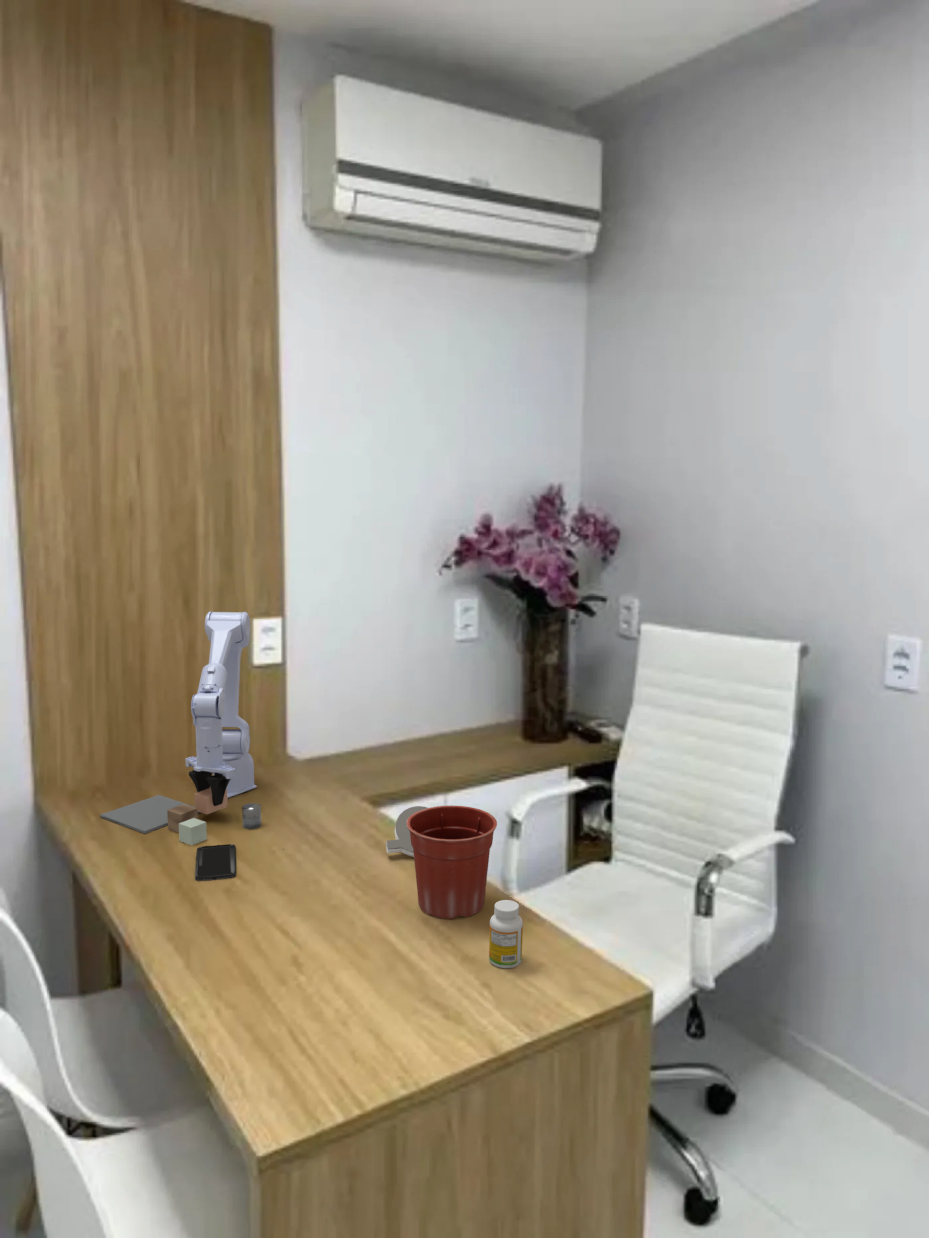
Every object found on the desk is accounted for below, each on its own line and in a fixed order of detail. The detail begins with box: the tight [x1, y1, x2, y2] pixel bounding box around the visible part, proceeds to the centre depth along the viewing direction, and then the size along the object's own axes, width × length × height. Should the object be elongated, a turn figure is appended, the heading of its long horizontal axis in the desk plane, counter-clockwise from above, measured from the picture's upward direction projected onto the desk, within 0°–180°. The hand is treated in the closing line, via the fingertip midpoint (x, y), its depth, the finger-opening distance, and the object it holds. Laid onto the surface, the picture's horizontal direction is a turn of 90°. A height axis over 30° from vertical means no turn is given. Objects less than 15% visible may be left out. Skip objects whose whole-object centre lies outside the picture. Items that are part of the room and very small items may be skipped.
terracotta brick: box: [194, 788, 229, 815], centre depth 212 cm, size 6×4×4 cm, turn 145°
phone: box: [194, 843, 237, 882], centre depth 188 cm, size 8×1×15 cm
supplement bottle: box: [488, 899, 524, 969], centre depth 153 cm, size 5×5×10 cm
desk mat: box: [99, 794, 201, 834], centre depth 213 cm, size 16×16×1 cm
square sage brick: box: [178, 818, 208, 846], centre depth 199 cm, size 4×4×4 cm
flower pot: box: [406, 805, 498, 920], centre depth 171 cm, size 16×16×16 cm
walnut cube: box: [167, 803, 199, 834], centre depth 206 cm, size 4×4×4 cm
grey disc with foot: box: [385, 805, 428, 858], centre depth 197 cm, size 15×8×11 cm, turn 105°
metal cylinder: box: [241, 802, 262, 830], centre depth 208 cm, size 4×4×4 cm
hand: (211, 802), depth 212 cm, fingers closed on terracotta brick, 4 cm apart
